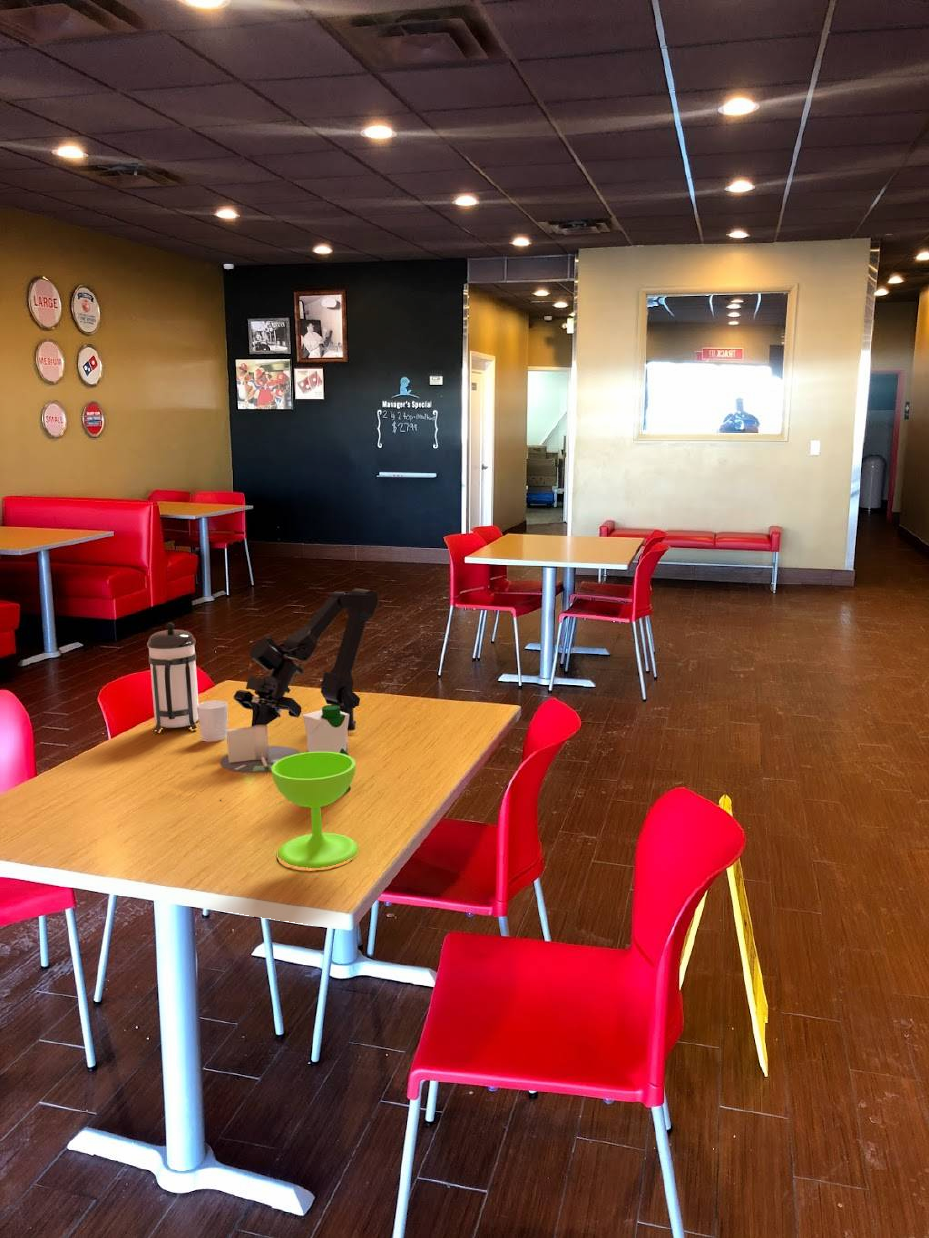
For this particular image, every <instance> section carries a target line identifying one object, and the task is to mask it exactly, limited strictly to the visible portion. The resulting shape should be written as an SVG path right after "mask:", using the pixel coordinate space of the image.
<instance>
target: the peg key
mask: <svg viewBox="0 0 929 1238" xmlns="http://www.w3.org/2000/svg"><path fill="white" fill-rule="evenodd" d="M226 732H227V738H226V742H227V743H226V745H227V747H226V748H227V755H228V761H229V763H232V762H240V761H248V760H262V762H263V765H264V769H265V770H267V769H269V766H268V765H267V763H266V761H265V759H268V758H269V749H268V746H269V735H268V734H269V733H268V724H267V725H255V726H253V727H251V726H245V727H236V728H229V729H227V730H226Z"/></svg>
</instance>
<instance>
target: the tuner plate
mask: <svg viewBox="0 0 929 1238" xmlns="http://www.w3.org/2000/svg"><path fill="white" fill-rule="evenodd" d="M268 749H269V758H268V759H265V761H266V763H267V765H268V766H269V769H267V770H265V769H264V765H263V762H262V760H248V761H240V762H232V763H229V761H228V754H226V755H225V756H224V757H222V758H221V760H220V763H219V764H220V766H221V767H222V768H224V769H225V770H228V771H229V772H230V771H231V772H235V773H240V774H241V773H242V774H245V773H246V774H254V773H255V774H259V773H269V772H272V770H271V767H272V765H273V764H274V763H275V762H277V761H278V760H280V759H282V758H285V757H287V756H291V755H295V754H300V753H302V752H300V751H299V750H298V749H296V748H292V747H289V746H283V745H282V746H281V745H268Z"/></svg>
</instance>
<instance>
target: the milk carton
mask: <svg viewBox="0 0 929 1238" xmlns="http://www.w3.org/2000/svg"><path fill="white" fill-rule="evenodd" d="M301 716H302V719H303V720H302V721H303V725H304V729H305V732H306V747H307V748H306V749H307V752H337V753H342V754H346V755H348V756H349V745H348V743H349V742H348V740H349V739H348V737H349V736H348V730H349V729H348V722H349V714H347V713H344V712H341V711H340V706H338V705H331V704H327V705H323V706H322V707H321V709H320V710H315V711H313V712H309V713H304V714H302V715H301ZM351 789H352V788H351V786H350V787H349V788H348V789H347V791H348V790H351Z"/></svg>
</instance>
